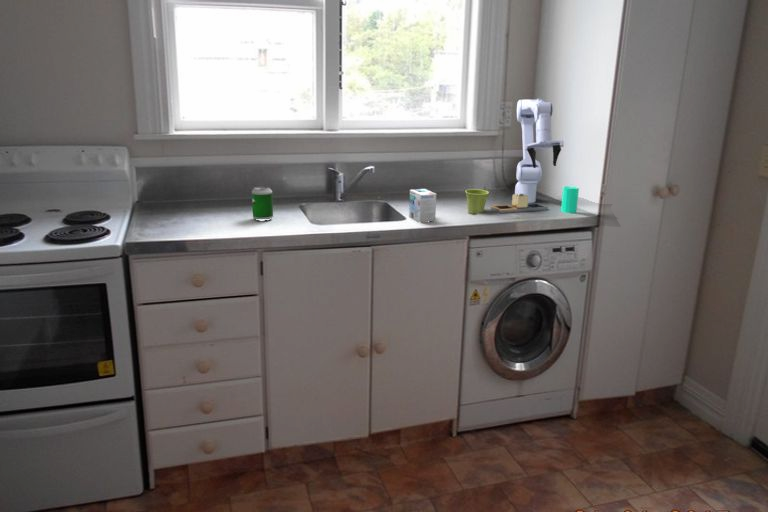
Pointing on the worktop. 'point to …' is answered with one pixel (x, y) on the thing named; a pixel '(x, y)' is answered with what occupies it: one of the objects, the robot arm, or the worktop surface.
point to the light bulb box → (422, 205)
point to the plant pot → (476, 200)
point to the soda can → (262, 203)
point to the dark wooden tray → (512, 209)
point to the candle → (569, 199)
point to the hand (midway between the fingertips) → (544, 166)
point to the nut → (519, 201)
